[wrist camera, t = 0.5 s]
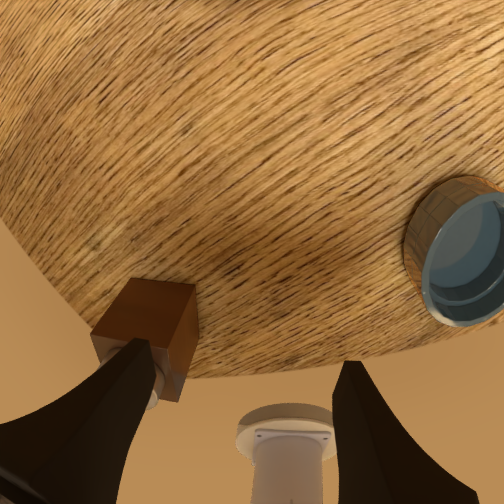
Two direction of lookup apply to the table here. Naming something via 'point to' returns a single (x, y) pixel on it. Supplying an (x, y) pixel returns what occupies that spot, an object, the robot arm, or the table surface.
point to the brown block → (154, 327)
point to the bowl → (458, 251)
